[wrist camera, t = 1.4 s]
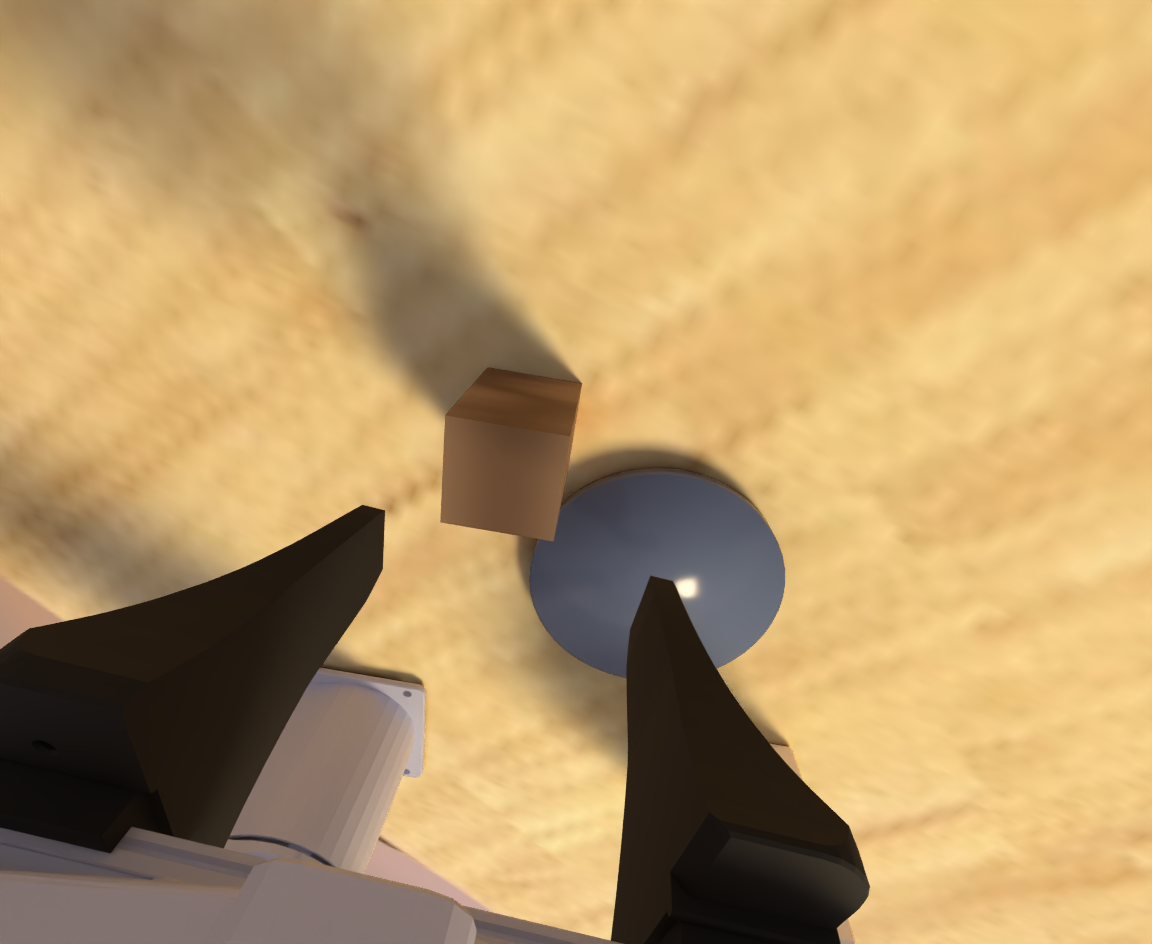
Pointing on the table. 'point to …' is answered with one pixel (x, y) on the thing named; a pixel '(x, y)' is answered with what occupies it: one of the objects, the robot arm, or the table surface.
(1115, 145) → the table surface
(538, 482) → the walnut block
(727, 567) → the blue-grey round disc
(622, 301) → the table surface
